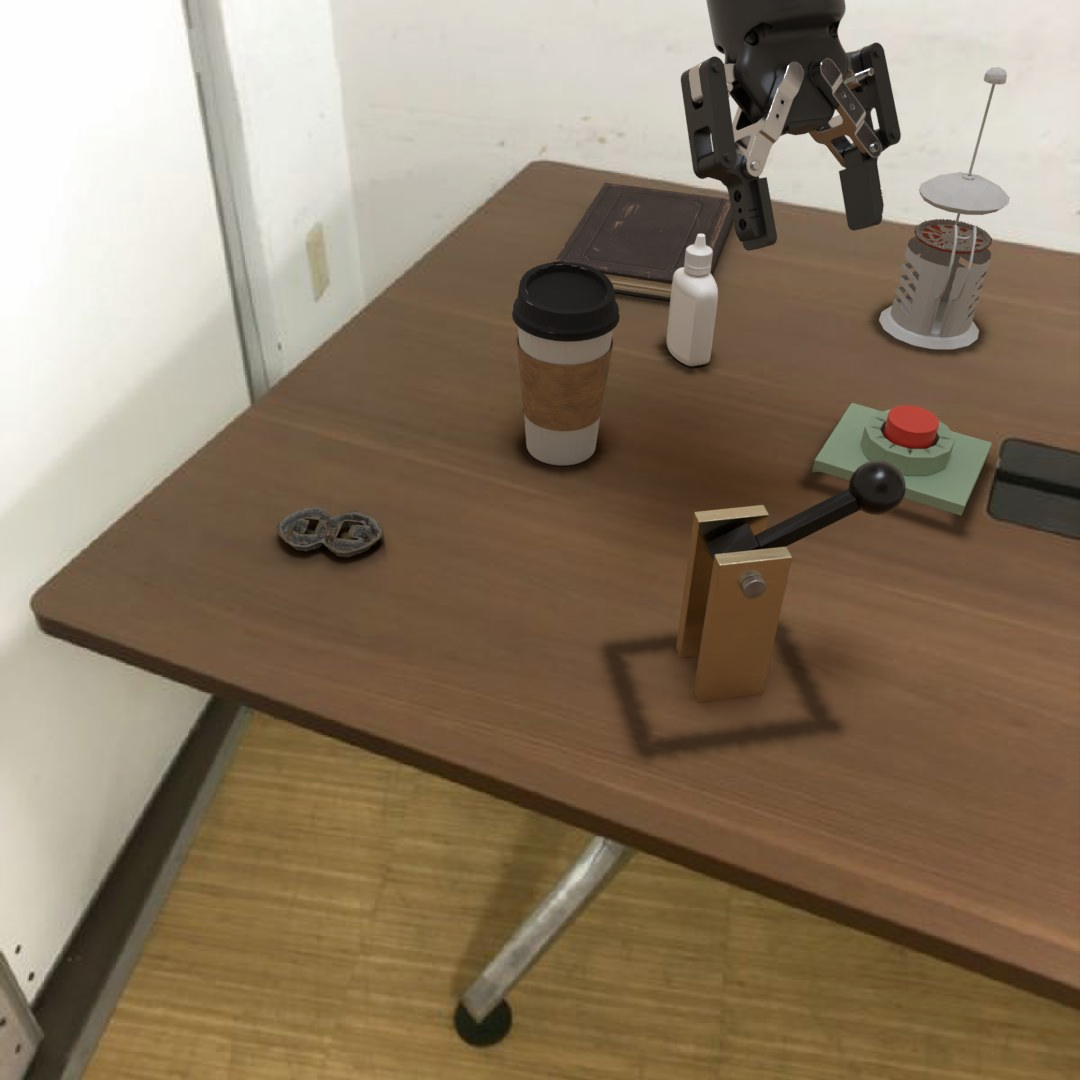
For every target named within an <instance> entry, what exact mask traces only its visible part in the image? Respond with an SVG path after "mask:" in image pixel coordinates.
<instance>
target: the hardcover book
mask: <svg viewBox="0 0 1080 1080" xmlns="http://www.w3.org/2000/svg"><path fill="white" fill-rule="evenodd" d="M733 222H734V220H733V215H732V210H731V204H730V199H729V198H724V197H717V196H716V197H715V196H710V195H701V194H696V193H695V194H694V193H687V192H678V191H671V190H663V189H658V188H657V189H656V188H649V187H641V186H635V185H634V186H633V185H626V184H619V183H610V182H604V183H603V185H602V186H601V188H600V190H599V191H598V192H597V194H596V196H595V197H594V199H593V200H592V201H591V203H590V205H589V207H588V208H587V209H586V211H585V213H584V214H583V215H582V217H581V219H580V220H579V222H578V223H577V225H576V226H575V228H574V229H573V231H572V232H571V234H570V235H569V237H568V239H566V242H565V243H564V245H563V246H562V248H561V249H560V251H559V252H558V254H557V255H556V257H555V258H554V260H553V262H557V261H563V262H574V263H581V264H585V265H588V266H591V267H594V268H596V269H597V270H599V271H601V272H602V273H603V274H604V275H606V276H607V277H608V279H609V280H610V281H611V283H612V284H613V287H614V291H615V294H621V295H627V296H634V297H640V298H646V299H647V298H648V299H654V300H660V301H666V302H670V299H671V289H672V281H673V275H674V273H675V271H676V270H677V269H679V268H682V267H684V263H685V254H686V248H687V247H688V246H690V245H694V243H695V241H696V237H697V235H698V234H704V235H705V240H706V246H709V247H710V248H711V249H712V250H713V255H712V263H711V271H710V273H711V275H712V276H713V272H714V270H715V267H716V264H717V261H718V259H719V256H720V254H721V252H722V249H723V247H724V244H725V242H726V239H727V237H728V234H729V231H730V229H731V227H732V224H733Z"/></svg>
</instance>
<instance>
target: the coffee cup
mask: <svg viewBox="0 0 1080 1080" xmlns="http://www.w3.org/2000/svg"><path fill="white" fill-rule="evenodd" d="M511 315H512V316H511V317H512V321H513V322H514V324H515V325H516V326H517V332H518V333H517V335H516V339H515V341H516V350H517V361H518V371H519V380H520V390H521V391H520V392H521V401H522V407H523V408H522V410H523V417H524V418H523V419H524V432H525V443H526V445H525V446H526V449H527V451H528V453H529V454H530V455H531V456H532V457H533V458H534V459H536V460H537V461H539V462H541V463H543V464H547V465H552V466H560V467H561V466H573V465H577V464H581V463H582V462H585V461H587V460H588V459H590V458H591V457H592V456H593V455H594V453H595V451H596V447H597V440H598V434H599V428H600V421H601V416H602V411H603V407H604V406H603V405H604V400H605V394H606V388H607V382H608V377H609V371H610V366H611V365H610V364H611V359H612V353H613V349H614V348H613V347H614V338H613V330H615V328H616V327H617V326H618V324H619V322H620V319H621V318H620V317H621V316H620V308H619V304H618V302H617V300H616V293H615V291H614V287H613V284H612V283H611V281H610V280H609V279H608V277H607V276H606V275H604V274H603V273H602V272H601V271H599V270H597V269H596V268H594V267H591V266H588V265H585V264H581V263H574V262H563V261H557V262H554V261H551V262H546V263H541V264H539V265H536V266H534V267H532V268H530V269H528V270H527V271H526V272H524V274H523V275H522V277H521V279H520V280H519V283H518V291H517V296H516V298H515V300H514V302H513V306H512V312H511Z"/></svg>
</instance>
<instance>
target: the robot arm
mask: <svg viewBox="0 0 1080 1080" xmlns="http://www.w3.org/2000/svg"><path fill="white" fill-rule="evenodd" d="M706 7H707V13H708V18H709V23H710V29H711V33H712V34H711V35H712V40H713V45H714V47H715V49H716V50H717V51H718V52H719V53H721V55H724V62H723V60H722V59H721V58H720V57H719V56H711V57H709V58H707V59H706V60H703V61H702V62H699V63H698V64H695V65H694V66H692V67H690V68H688V69H687V70H684V71H683V72H682V74H681V75H680V86H681V94H682V101H683V107H684V114H685V122H686V129H687V136H688V137H687V138H688V144H689V150H690V151H689V152H690V158H691V164H692V165H691V166H692V170H693V173H694V175H695V177H697V178H698V179H701V180H704V179H707V178H709V179H712V180H716V181H719V182H721V184H722V185H723V186H725V187H726V190H727V193H728V199H730V204H731V210H732V215H733V223H734V224H733V226H734V231H735V235H736V237H737V238H738V241H739V242H740V243H741V244H742V246H743V248H744V249H745V250H746V251H747V252H749V251H754V250H759V249H764V248H768V247H770V246H771V247H772V246H774V245H775V244H776V242H777V240H778V233H777V228H776V223H775V222H776V221H775V217H774V211H773V206H772V199H771V194H770V189H769V182H768V177H767V176H766V177H760V176H761V175H762V173H763V171H764V169H765V166H766V163H767V160H768V158H769V154H770V152H771V149H772V147H773V145H774V144H775V143H776V142H777V141H778V140H779V139H780V137H782V136H784V135H787V134H788V135H792V136H802V135H807V134H809V135H810V137H811V138H812V139H813V140H814V142H816V143H817V144H820V145H824V146H826V148H827V149H828V150H829V152H830V154H832V156H833V158H835V159H836V161H837V162H838V163H839V164H840V166H841V167H842V168H844V169H841V170H838V176H839V180H840V186H841V187H840V188H841V193H842V198H843V204H844V211H845V217H846V224H847V227H848V228H849V230H851V231H859V230H864V229H867V228H872V227H875V226H878V225H880V224H881V223H882V221H883V214H884V207H885V206H884V205H885V203H884V199H883V191H882V185H881V178H880V174H879V166H878V160H879V157H880V156H881V154H882V153H883V152H884V151H886V150H887V149H888V148H889V147H891V146H894V145H897V144H898V143H900V141H901V139H902V134H901V133H902V132H901V128H900V122H899V118H898V113H897V109H896V102H895V98H894V97H895V96H894V93H893V87H892V83H891V78H890V73H889V68H888V63H887V58H886V52H885V49H884V47H883V45H882V44H881V43H880V42H873V43H871V44H869V45H865V46H863V47H861V48H858V49H857V50H852V51H848V52H847V51H846V50H845V48H844V46H843V45H842V43H841V40H840V38H839V27H840V23H841V21H842V19H843V18H844V16H845V13H846V11H847V9H846V7H847V6H846V0H706ZM730 98H732V99H733V101H734V102H735V103H736V105H737V106H738V107H737V109H736V111H735V115H734V117H733V119H732V111H731V105H730V104H731V103H730ZM873 109H874V110H875V115H876V119H877V124H878V128H876V129H874V122H873V119H872V118H873V117H872V110H873ZM835 112H837V113H838V115H835ZM834 115H835V116H834ZM847 137H848V138H849V139H850V140H851V141H852V143H851V141H850V140H849V139H848V138H847Z"/></svg>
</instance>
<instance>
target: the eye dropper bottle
mask: <svg viewBox="0 0 1080 1080" xmlns="http://www.w3.org/2000/svg"><path fill="white" fill-rule="evenodd" d="M712 255H713V250H712V249H711V248H710V247H709V246H706V240H705V235H704V234H698V235H697V237H696V241H695V243H694V245H690V246H688V247H687V248H686V254H685V263H684V267H682V268H679V269H677V270H676V271H675V273H674V275H673V281H672V289H671V299H670V301H669V309H668V310H669V311H668V320H667V329H666V339H665V342H666V348H667V350H668V352H669V353H670V354H671V356H672V357H673V358H674V359H675V360H677V361H678V362H680V363H681V364H684V365H685V366H687V367H697V366H702V365H707V364H709V363H710V361H711V357H712V356H711V355H712V348H713V342H714V332H715V326H716V320H717V319H716V318H717V311H718V310H717V309H718V301H719V288H718V285H717V282H716V280H715V278H714V276H713V274H712V275H711V273H710V271H711V263H712Z"/></svg>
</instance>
